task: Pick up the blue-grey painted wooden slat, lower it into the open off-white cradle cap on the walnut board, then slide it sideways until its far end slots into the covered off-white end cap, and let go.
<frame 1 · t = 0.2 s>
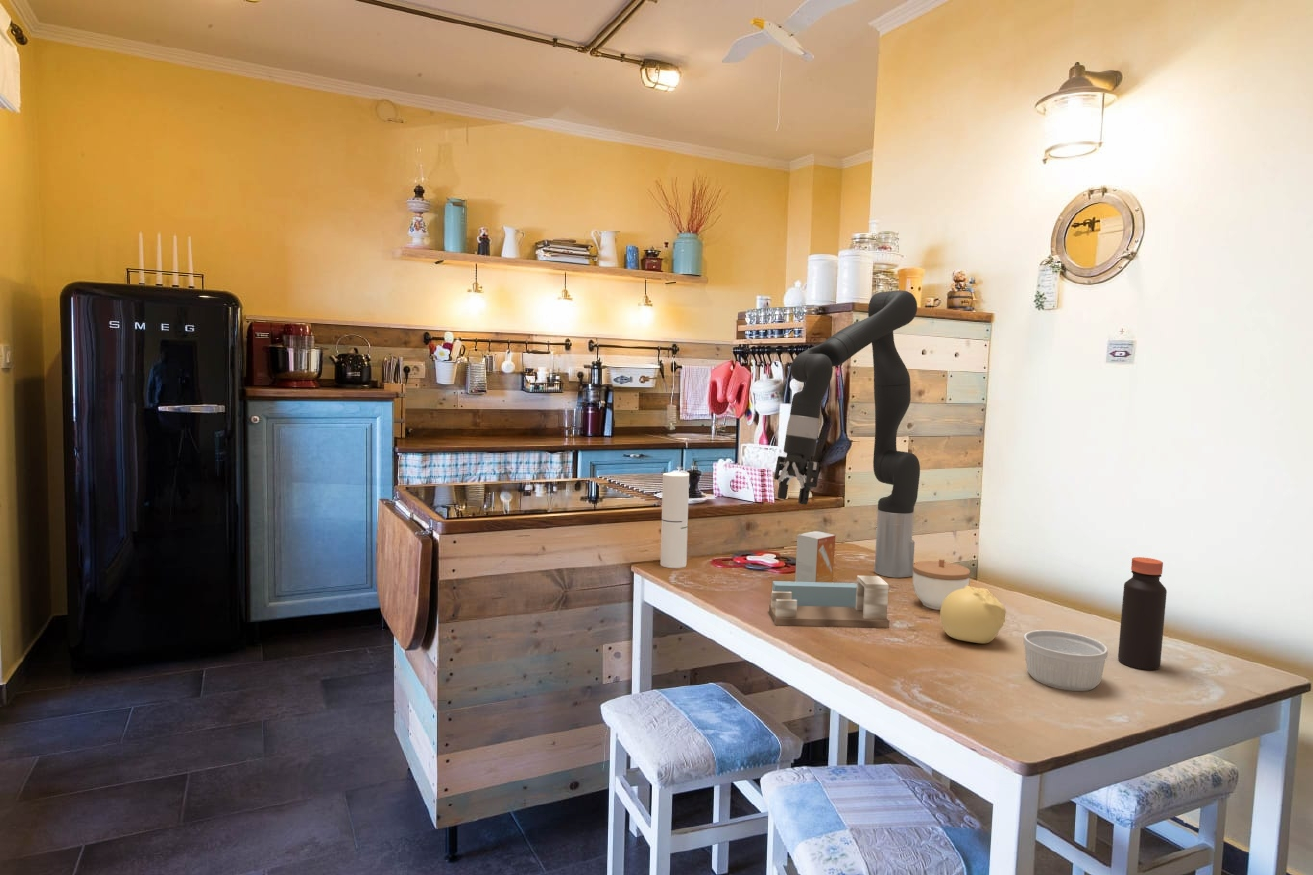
hand: (791, 501, 185), 22 cm above the table, tool pointing down, fingers open, 8 cm apart
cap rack: (827, 619, 165), on the table
small box: (814, 585, 192), on the table
cylindrical container: (673, 565, 209), on the table
yellow clay lump: (970, 639, 156), on the table
ramekin: (1061, 680, 136), on the table
slat: (816, 605, 176), on the table
lidded bowl: (938, 606, 178), on the table
bottle: (1138, 664, 144), on the table
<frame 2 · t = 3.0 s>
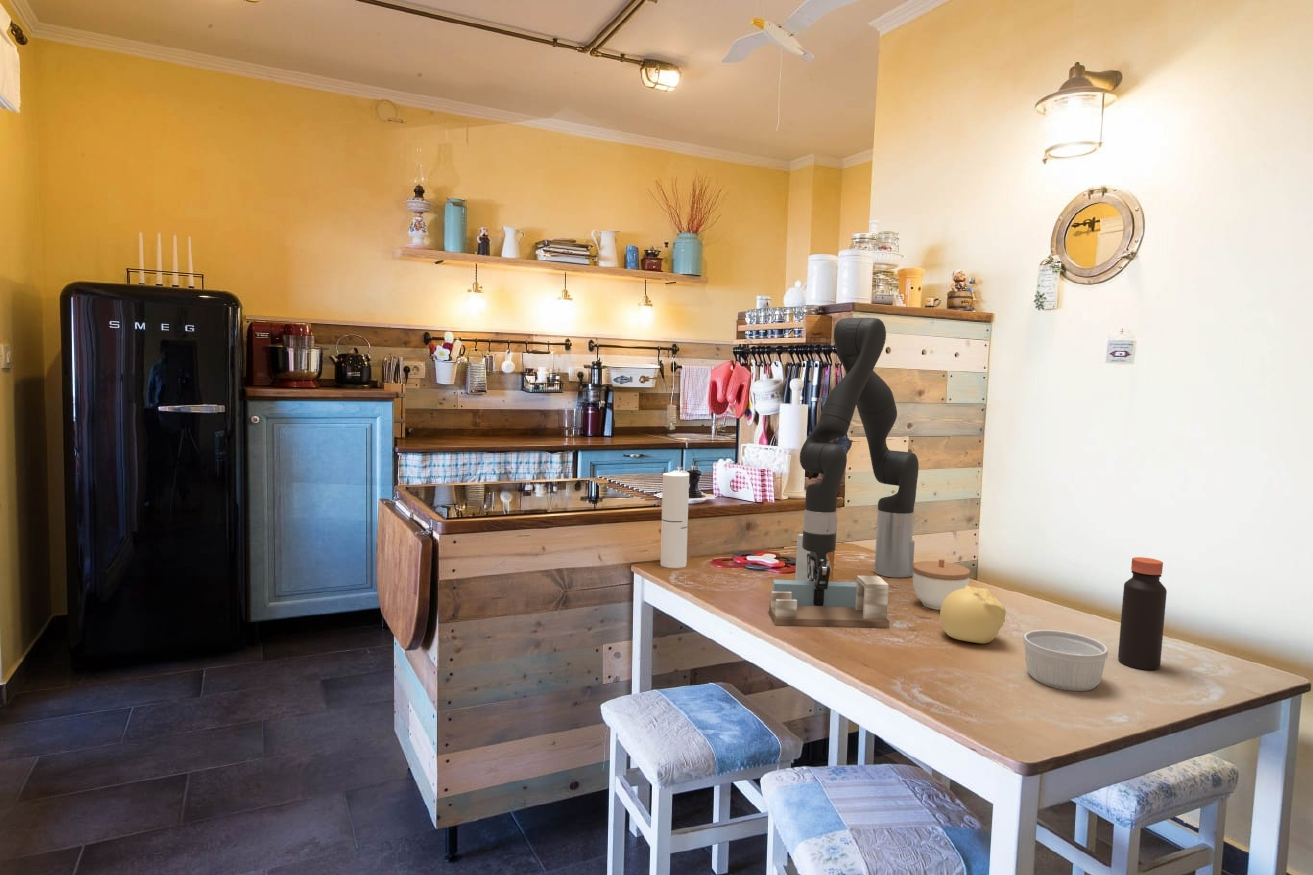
hand: (816, 602, 176), 0 cm above the table, tool pointing down, fingers closed on slat, 3 cm apart
slat: (816, 604, 176), on the table, touching gripper
everything else where it was.
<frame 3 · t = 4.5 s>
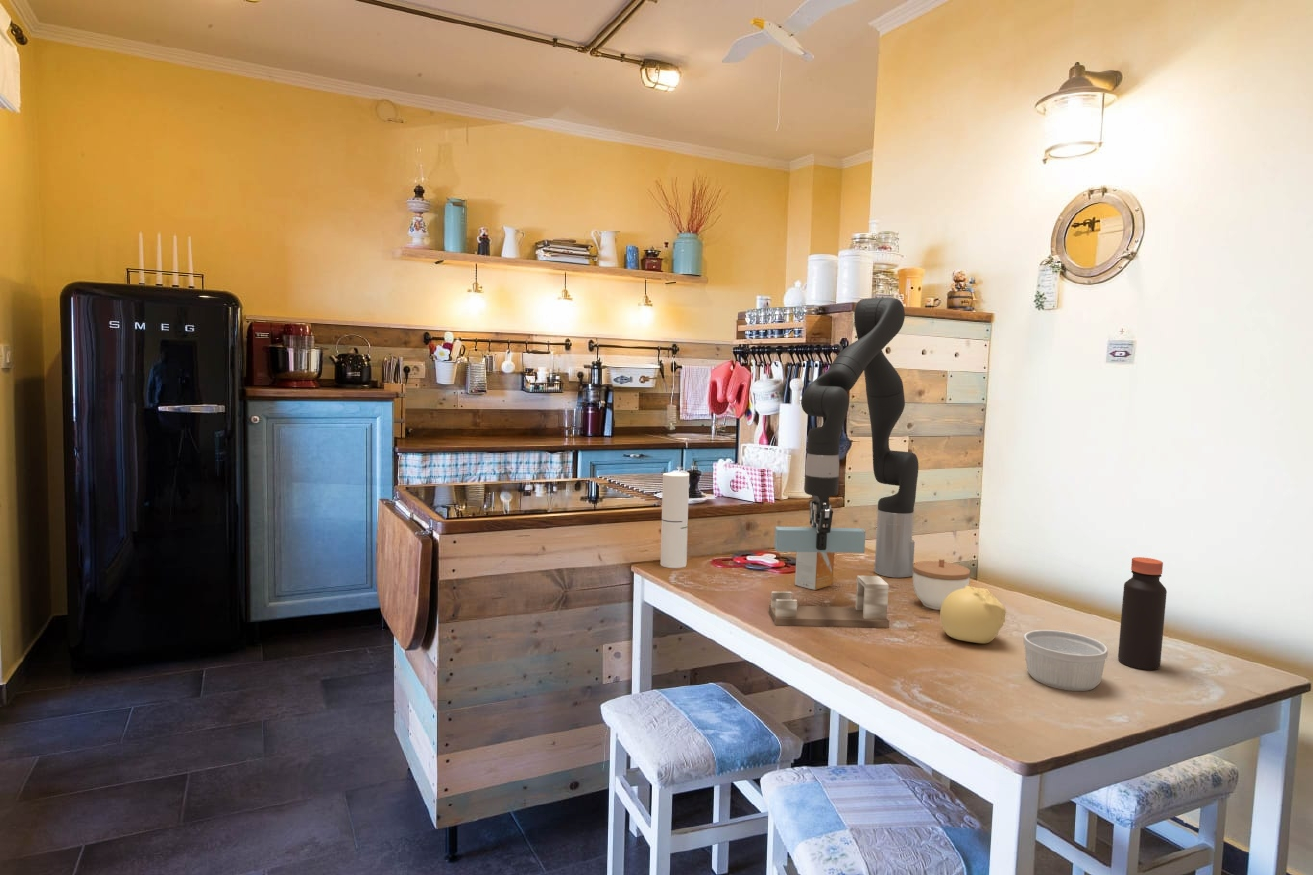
hand: (819, 547, 175), 13 cm above the table, tool pointing down, fingers closed on slat, 3 cm apart
slat: (819, 550, 175), point 13 cm above the table, touching gripper
everything else where it was.
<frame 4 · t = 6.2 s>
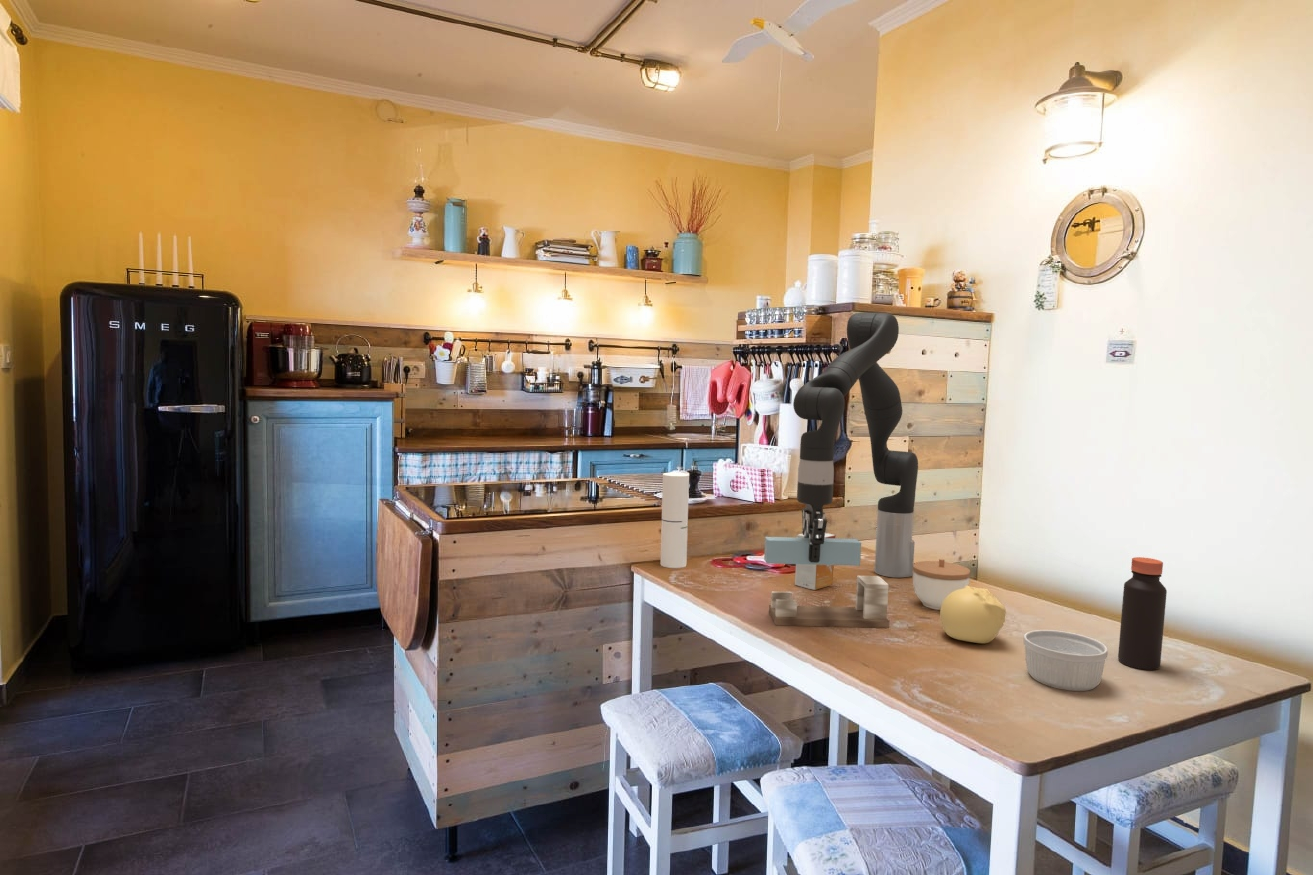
hand: (811, 559, 164), 13 cm above the table, tool pointing down, fingers closed on slat, 3 cm apart
slat: (811, 562, 164), point 13 cm above the table, touching gripper
everything else where it was.
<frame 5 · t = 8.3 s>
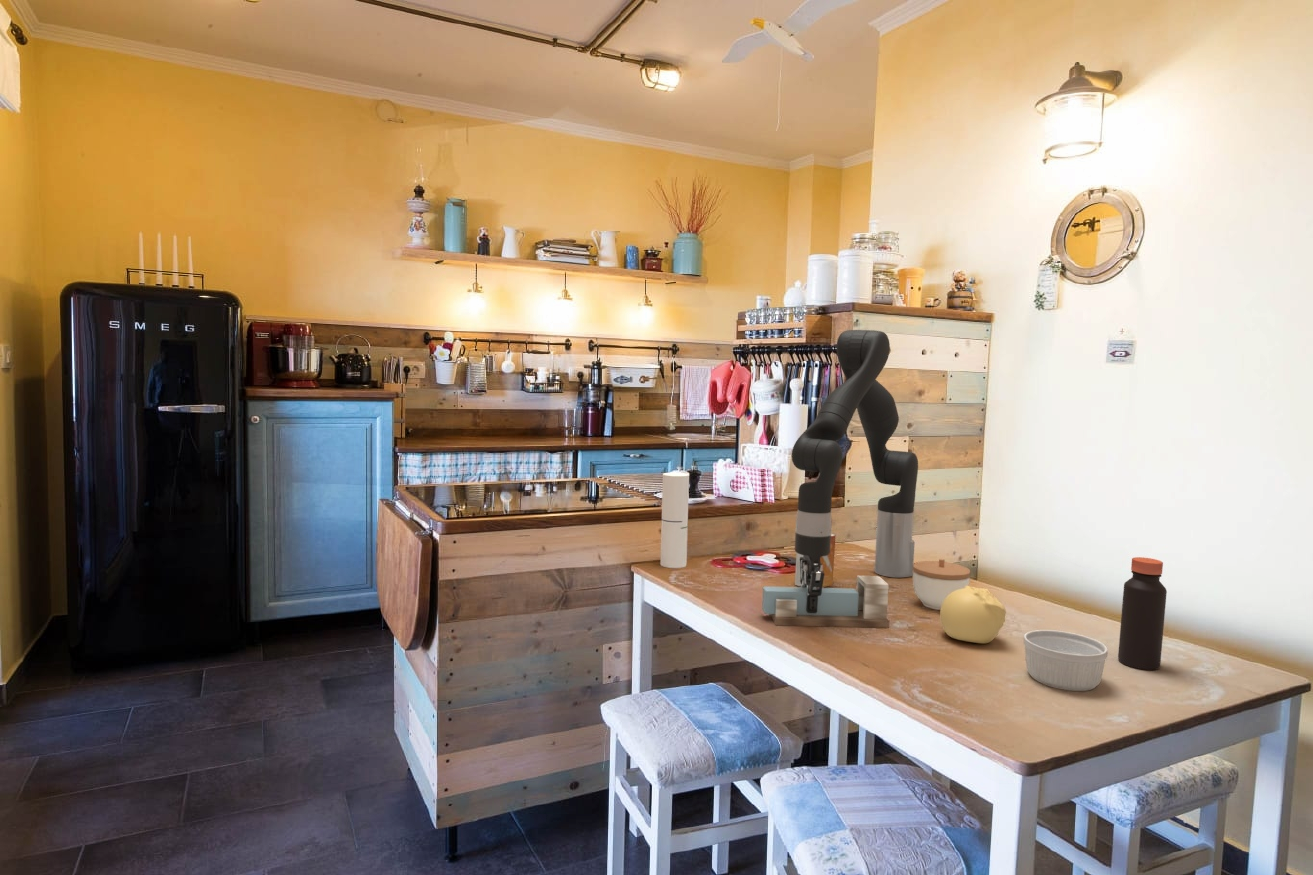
hand: (809, 609, 165), 2 cm above the table, tool pointing down, fingers closed on slat, 3 cm apart
slat: (809, 612, 165), point 2 cm above the table, touching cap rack, gripper
everything else where it was.
when the fingers open (2 cm above the table, at t = 9.4 s): slat stays where it is, resting on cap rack.
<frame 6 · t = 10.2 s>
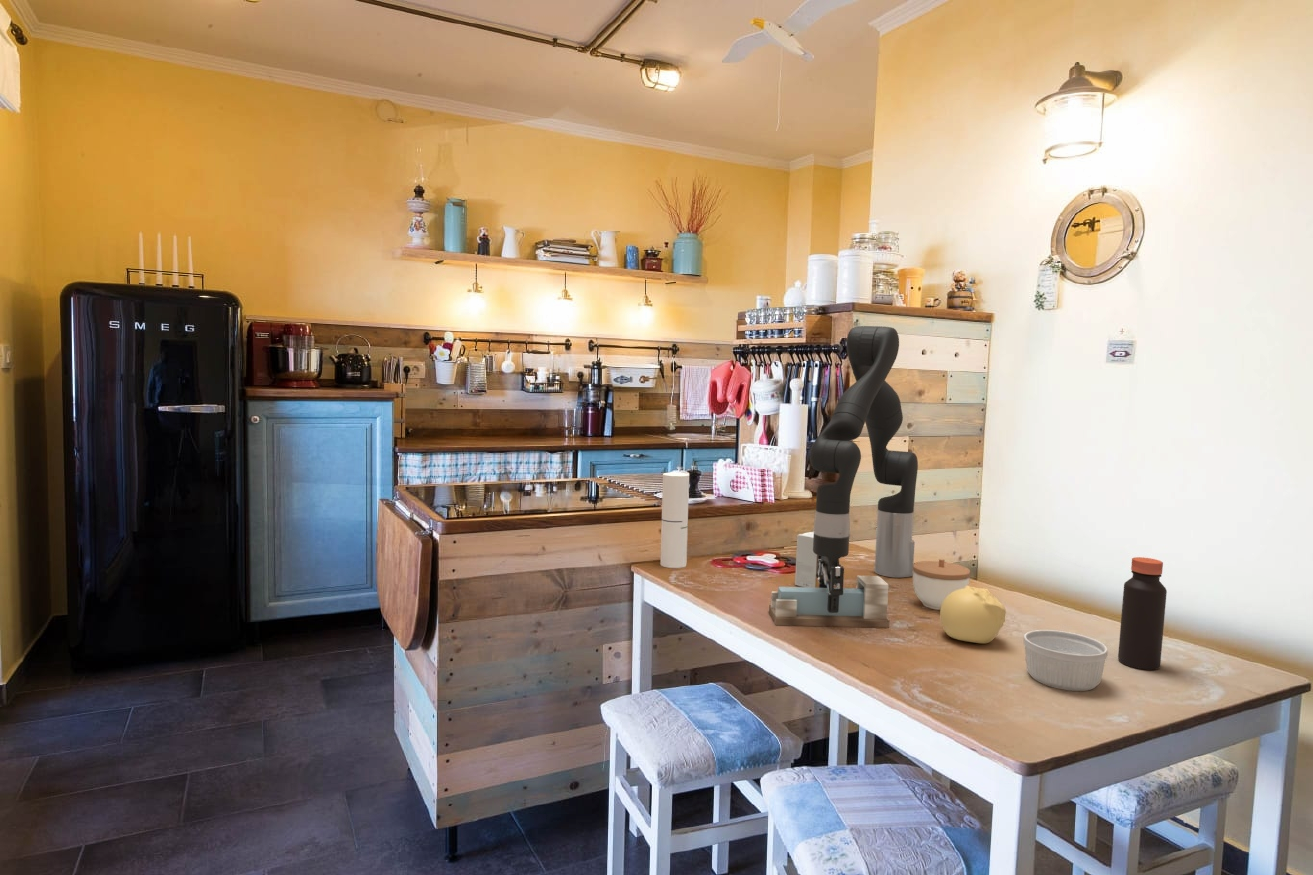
hand: (828, 606, 165), 3 cm above the table, tool pointing down, fingers open, 8 cm apart
slat: (824, 612, 165), point 1 cm above the table, touching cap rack
everything else where it was.
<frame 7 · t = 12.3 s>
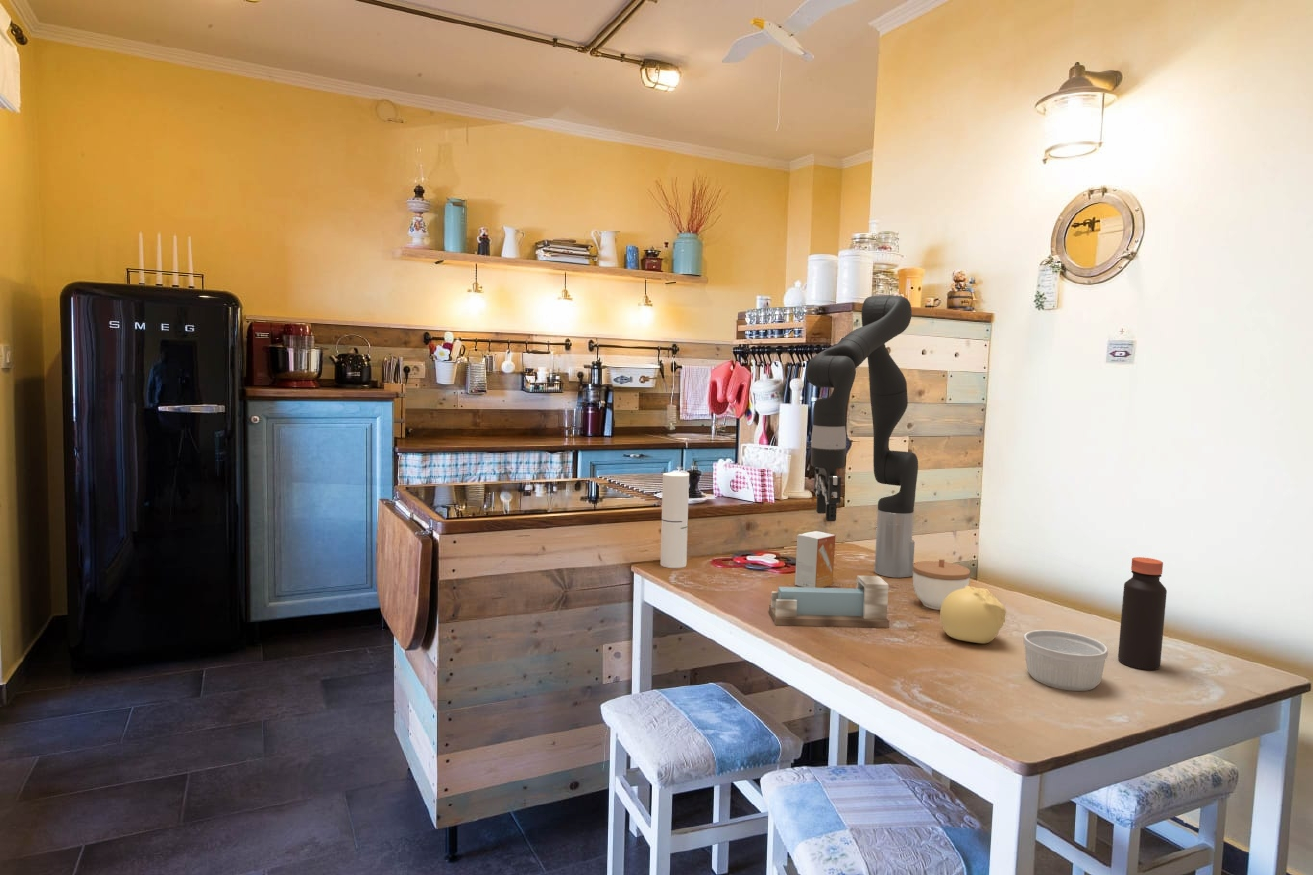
hand: (825, 517, 171), 21 cm above the table, tool pointing down, fingers open, 8 cm apart
nothing on the table moved.
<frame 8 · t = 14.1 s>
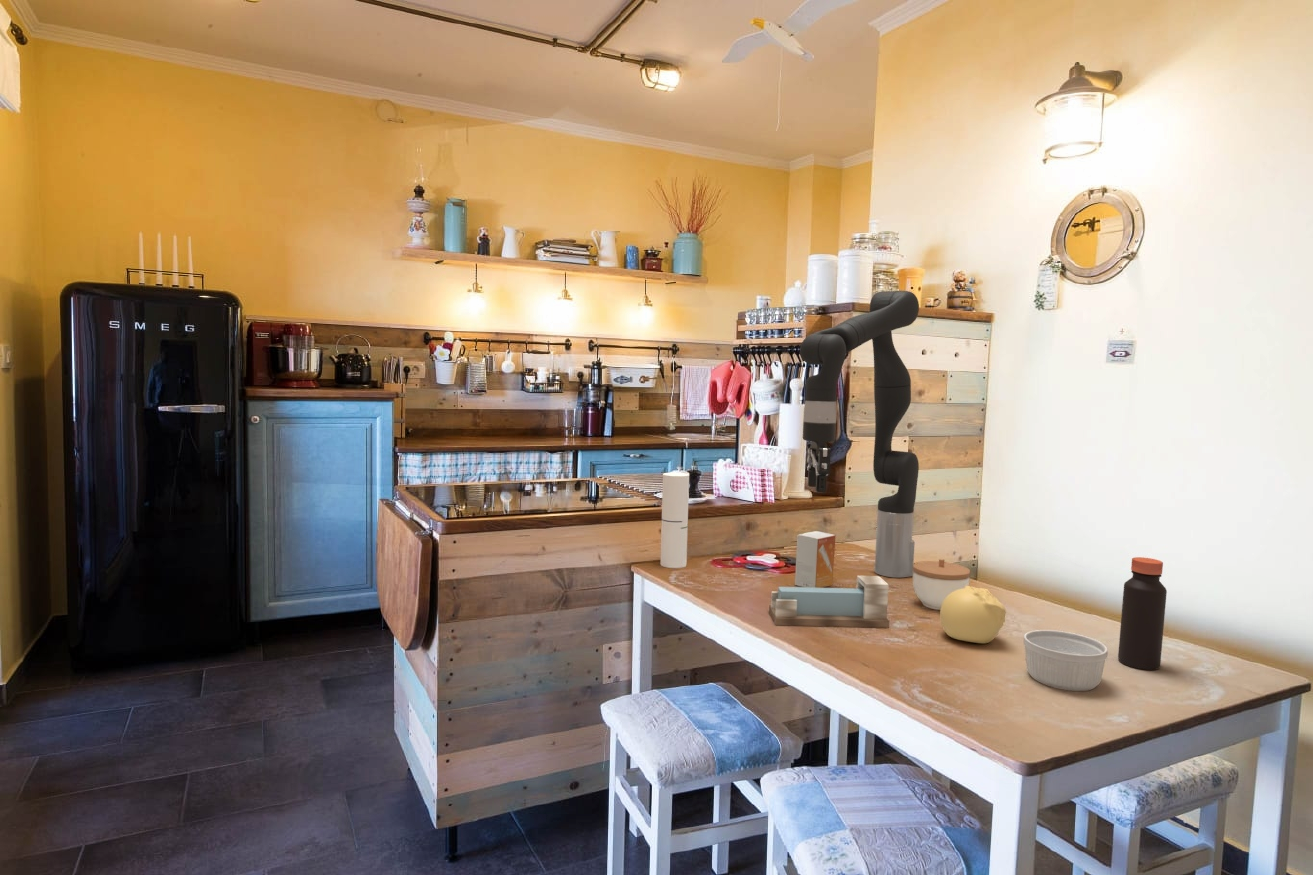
hand: (816, 489, 179), 26 cm above the table, tool pointing down, fingers open, 8 cm apart
nothing on the table moved.
at the end: slat 0.8 cm off-centre on the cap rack, point 1.5 cm above the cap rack's base; slat tilted 0°; the gripper is holding nothing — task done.
